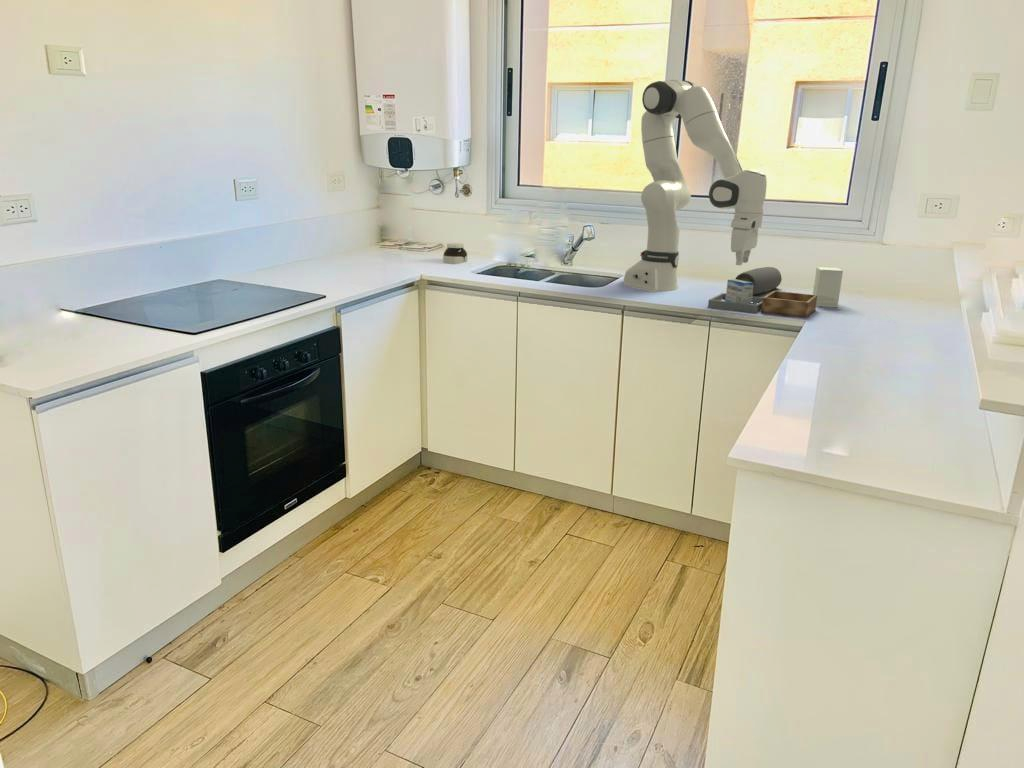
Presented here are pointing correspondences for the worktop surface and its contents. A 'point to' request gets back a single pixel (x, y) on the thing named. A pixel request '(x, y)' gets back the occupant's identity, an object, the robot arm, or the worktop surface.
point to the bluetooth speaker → (762, 279)
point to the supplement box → (827, 286)
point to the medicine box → (739, 291)
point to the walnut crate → (789, 304)
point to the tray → (735, 304)
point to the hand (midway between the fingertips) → (741, 263)
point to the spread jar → (455, 254)
